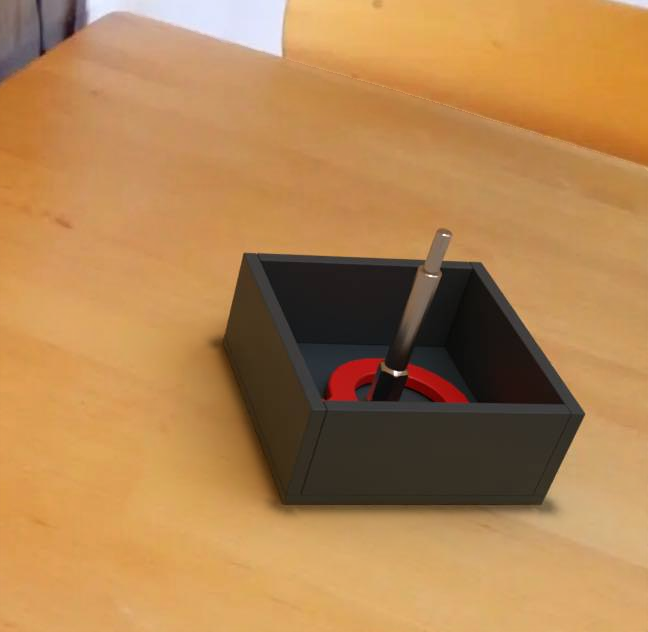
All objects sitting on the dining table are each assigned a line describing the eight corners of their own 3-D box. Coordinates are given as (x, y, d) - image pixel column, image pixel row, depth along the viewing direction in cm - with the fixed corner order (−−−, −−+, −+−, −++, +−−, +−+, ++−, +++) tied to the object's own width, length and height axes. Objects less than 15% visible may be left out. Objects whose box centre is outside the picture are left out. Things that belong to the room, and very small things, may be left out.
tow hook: (361, 357, 75) (290, 420, 69) (431, 153, 67) (359, 203, 61) (490, 418, 72) (429, 489, 66) (580, 213, 64) (521, 271, 58)
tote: (448, 348, 78) (481, 261, 74) (542, 504, 67) (586, 413, 63) (222, 342, 75) (243, 251, 71) (283, 504, 65) (311, 409, 60)
